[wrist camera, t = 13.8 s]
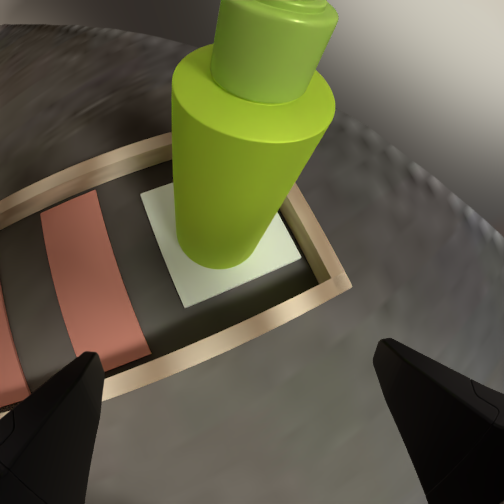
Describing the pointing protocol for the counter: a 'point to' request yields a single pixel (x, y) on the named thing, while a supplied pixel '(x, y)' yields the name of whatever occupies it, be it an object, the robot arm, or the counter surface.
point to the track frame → (329, 287)
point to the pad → (205, 279)
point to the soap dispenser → (247, 123)
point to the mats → (79, 294)
